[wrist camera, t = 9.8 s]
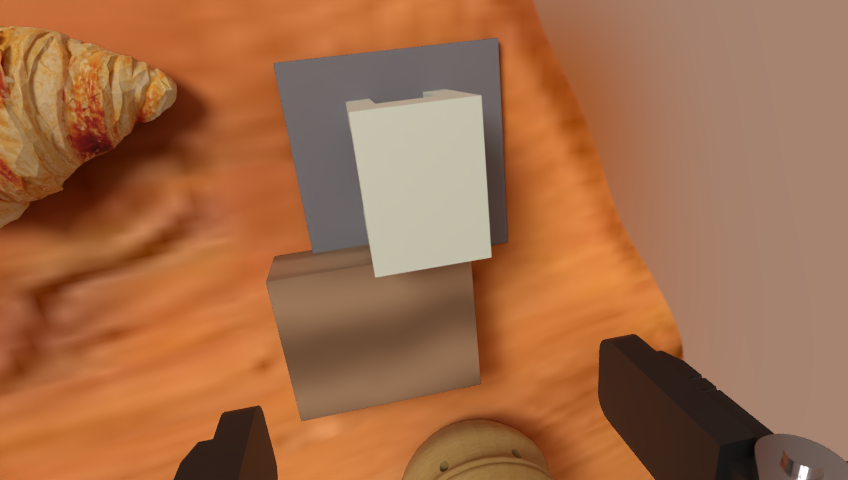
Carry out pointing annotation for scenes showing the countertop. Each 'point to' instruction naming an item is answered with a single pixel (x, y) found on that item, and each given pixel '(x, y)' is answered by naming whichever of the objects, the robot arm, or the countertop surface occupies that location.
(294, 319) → the tan square slab
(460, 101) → the notched cream block
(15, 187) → the croissant
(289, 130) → the felt pad
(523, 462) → the pot
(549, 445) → the countertop surface
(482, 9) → the countertop surface
